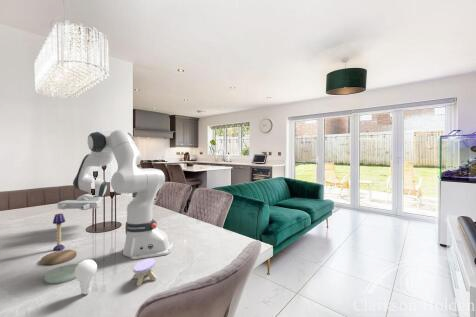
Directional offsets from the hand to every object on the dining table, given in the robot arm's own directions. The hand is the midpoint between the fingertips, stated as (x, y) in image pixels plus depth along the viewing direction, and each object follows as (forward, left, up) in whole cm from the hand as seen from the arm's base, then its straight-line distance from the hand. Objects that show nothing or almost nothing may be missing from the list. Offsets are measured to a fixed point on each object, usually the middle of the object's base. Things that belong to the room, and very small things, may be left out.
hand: (72, 207), depth 118 cm
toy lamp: (0, +12, -17) cm, 21 cm away
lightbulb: (-29, +52, -17) cm, 62 cm away
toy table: (-46, +46, -17) cm, 67 cm away
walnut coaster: (-6, +23, -17) cm, 29 cm away
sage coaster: (-16, +38, -17) cm, 45 cm away
